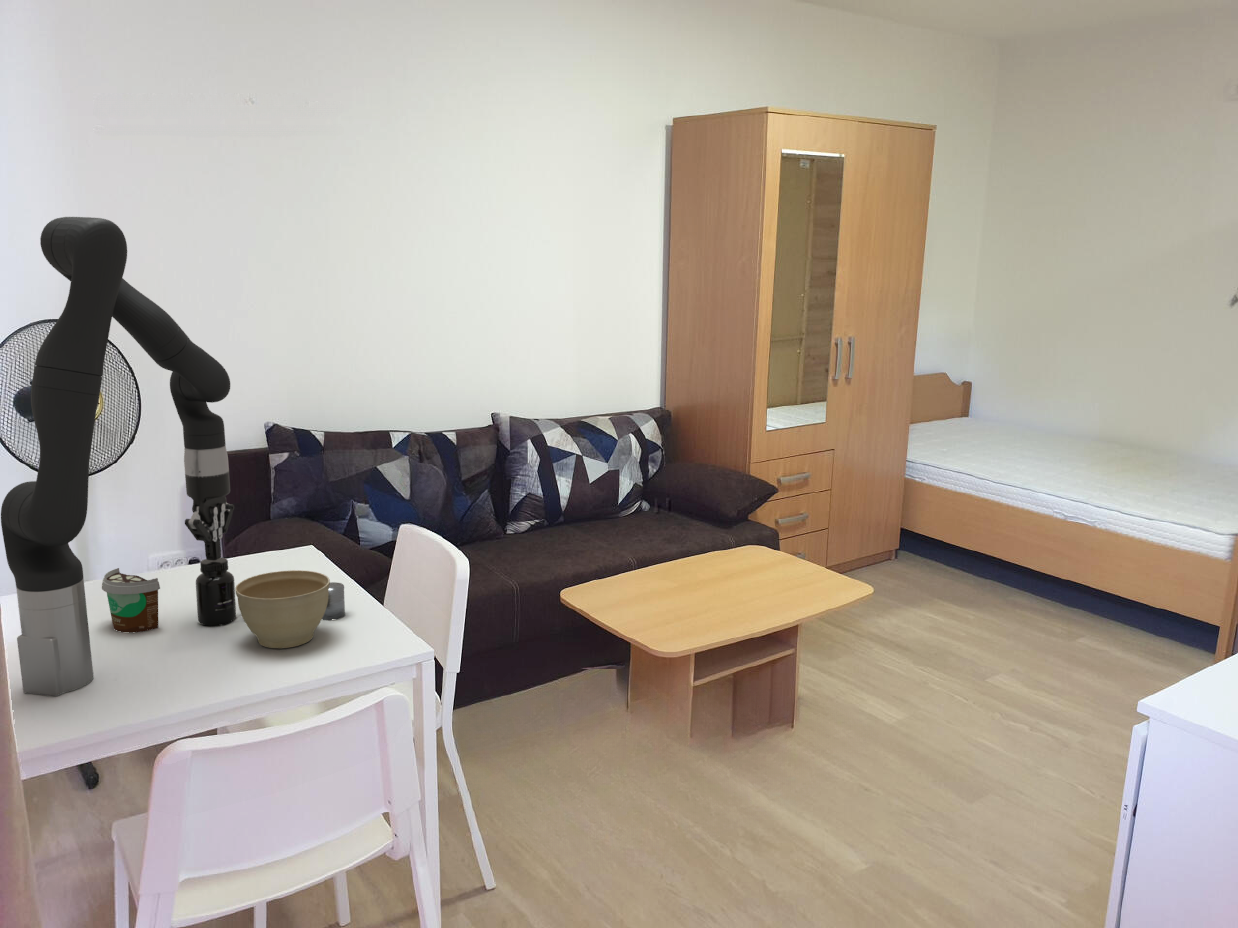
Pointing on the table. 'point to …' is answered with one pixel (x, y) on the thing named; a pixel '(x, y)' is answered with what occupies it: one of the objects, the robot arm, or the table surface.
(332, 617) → the dark grey metal cylinder
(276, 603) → the planter bowl
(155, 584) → the food container
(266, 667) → the table surface
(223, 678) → the table surface
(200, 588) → the supplement bottle
